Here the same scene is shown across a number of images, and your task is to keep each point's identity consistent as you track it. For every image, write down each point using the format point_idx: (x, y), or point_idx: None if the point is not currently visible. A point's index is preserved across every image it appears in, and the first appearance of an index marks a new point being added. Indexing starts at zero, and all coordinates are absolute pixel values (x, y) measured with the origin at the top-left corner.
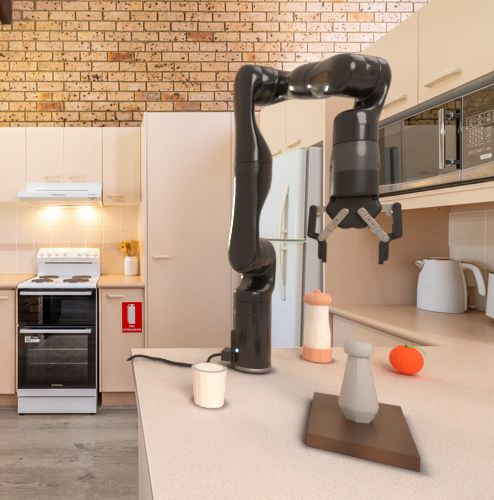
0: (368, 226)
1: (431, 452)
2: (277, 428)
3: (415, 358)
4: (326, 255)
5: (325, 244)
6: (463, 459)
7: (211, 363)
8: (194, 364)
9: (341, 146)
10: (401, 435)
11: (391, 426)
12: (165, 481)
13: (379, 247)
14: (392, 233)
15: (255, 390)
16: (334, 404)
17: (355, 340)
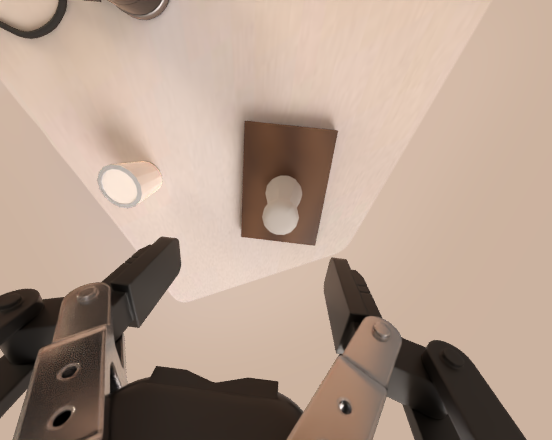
0: (317, 401)
1: (334, 206)
2: (219, 210)
3: None
4: (168, 273)
5: (141, 318)
6: (354, 209)
7: (113, 169)
8: (99, 184)
9: None
10: (313, 214)
11: (310, 197)
12: (177, 296)
13: (333, 334)
14: (405, 400)
15: (177, 109)
16: (265, 159)
17: (275, 222)
